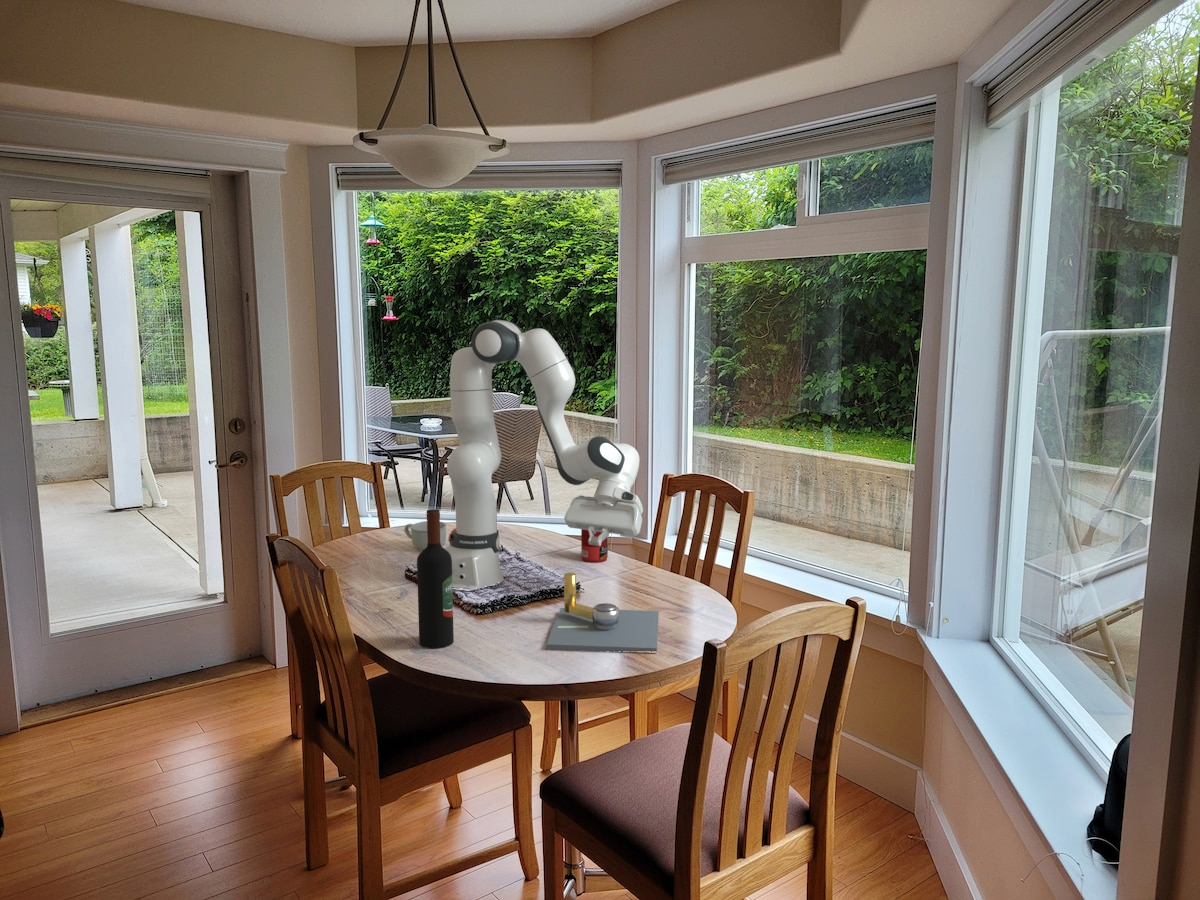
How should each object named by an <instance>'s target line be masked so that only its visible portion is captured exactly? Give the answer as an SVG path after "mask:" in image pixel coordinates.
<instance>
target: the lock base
mask: <svg viewBox="0 0 1200 900" xmlns="http://www.w3.org/2000/svg"><path fill="white" fill-rule="evenodd" d="M659 616H660V615H659V610H642V609H641V610H638V609H636V610H635V609H634V610H633V609H619V622H618V623H617V624H615V625H611V626H600V625H596V624H594V623H593V620H591V619H588V618H585V617H581V616H578V615H575V614H571V613H567V612H565V611H564V607H561V608H560V609H559V611H558V614H557V616H556V619H555V621H554V624H553V627H552V629H551V632H550V634H549V636H548V639H547V642H546V648H545V649H546V650H550V651H573V652H574V651H577V652H578V651H580V652H600V651H603V652H602V653H605V652H606V651H609V652H608V653H619V652H618V651H621V652H620V653H624V652H623V651H630V652H631V651H651V652H652V651H657V650H658V636H657V634H658V632H659ZM614 651H615V652H614ZM657 652H658V651H657ZM606 653H607V652H606Z"/></svg>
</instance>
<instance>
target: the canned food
mask: <svg viewBox="0 0 1200 900" xmlns="http://www.w3.org/2000/svg"><path fill="white" fill-rule="evenodd" d="M580 530H581V531H580V532H581V539H580V540H581V541H580V542H581V546H580V547H581V551H580V552H581V553H580V554H581V559H582V561H583V562H585V563H592V564H597V563H598V564H599V563H604V562H606V561H607V560H608V556H609V555H608V554H609V552H608V551H609V548H608V547H609V546H608V545H609V541H608V539H609V538H608V537H609V536H608V537H607V538H606V539H605V540H603V541H602V543H601V546H596V545H590V544H589V543H588V540H589V538H590V535H589V530H584V529H580ZM601 534H602V532H598V531H596V534H593V535H594V536H595V537H599V536H600V535H601Z"/></svg>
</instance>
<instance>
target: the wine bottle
mask: <svg viewBox="0 0 1200 900" xmlns="http://www.w3.org/2000/svg"><path fill="white" fill-rule="evenodd" d="M440 519H441V513H440V509H435V508H433V509H428V510H426V521H427V539H428V543H427V547H426V548H425V549H424V550H423V551H420V553H419V554H418V555H417V558H416V570H417V571H416V573H417V574H416V575H417V576H416V578H417V580H416V581H417V605H418V606H417V609H418V639H419V641H418V644H419V646H420V647H421V648H422V647H423V648H424V649H433V650H434V649H442V648H447V647H449V646H451V645H452V644H453V643H454V640H455V639H454V638H455V637H454V602H453V601H454V593H453V591H454V590H453V589H452V558H451V555H450V554H449V552H448V551H447V550H445V548H444V547H443V546H441V543H440V522H441V520H440Z"/></svg>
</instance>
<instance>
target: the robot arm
mask: <svg viewBox="0 0 1200 900" xmlns="http://www.w3.org/2000/svg"><path fill="white" fill-rule="evenodd" d="M470 343H471V344H470V345H471V346H466V347H462V348H460V349H458V350H456V351H455V352H454V353H453V355H452V357H451V362H450V371H449V391H450V404H451V405H450V406H451V407H450V408H451V420H452V423H453V424H454V428H455V430H456V434H457V439H458V444H459V446H458V447H456V448H455V449H454V450H453V451H452V453H450V456H449V457H448V460H447V463H446V471H447V474H448V477H449V478H450V482H451V487H452V489H451V490H452V494H453V497H454V504H455V528H453V529H452V530H451V531H450V533H449V534H448V535H449V536H448V537H447V538H448V542H449V545H447V546H445V548H444V549H445V550H447V551H448V552H449V554H450V555H451V558H452V587H454V588H463V589H476V588H478V587H485V586H490V585H493V584H496V583H498V582H501V581H502V580H503V578H504V575H503V572H502V568H501V564H500V556H499V550H500V534H499V529H498V517H497V516H498V515H497V514H498V512H497V511H498V510H497V509H498V507H497V500H496V497H495V494H494V489H493V483H492V482H493V481H492V476H493V474H494V473H495V472H497V470H498V469H499V467H500V465H501V461H502V450H501V447H500V443H499V437H498V432H497V427H496V423H495V416H494V415H495V414H494V403H493V401H494V399H493V384H492V382H493V381H492V372H493V369H494V367H495V366H496V365H497V366H498V365H501V364H503V363H507V362H509V361H516V362H518V363H519V364H520V365H521V366H522V367H523V370H524V371H525V373H526V375H527V377H528V378H529V379H528V380H530V382H531V384H532V387H533V389H534V393H535V395H536V408H537V411H538V415H539V418H540V421H541V423H542V426H543V428H544V431H545V433H546V435H547V439H548V441H549V443H550V447H551V448H552V451H553V453H554V457H555V458H554V459H555V462H556V463H555V464H556V467H557V471H558V473H559V475H560V477H561V478H562V479H563V480H564V481H565V482H566V483H568V484H570V485H572V486H580V485H582V484H584V483H586V482H588V481H590V480H591V479H593V478H597V479H598V484H597V486H596V490H595V492H594V495H593V496H584V495H579V496H576V497H574V498H573V499H572V500H571V502H570V506H569V507H568V510H567V511H566V513H565V515H564V521H565V524H566V525H567V527H568V528H572V529H578V530H581V529H584V530H589V535H590V538H589V540H588V543H589V544H590V545H596V546H601V543H602V541H603V540H605V539H606V538H607V537H609V536H610V534H615V535H620V536H621V535H622V536H629V537H636V536H637V535H639V534H640V531H641V528H642V524H643V516H642V514H643V512H644V508H643V504H642V501H641V500H640V498H639V496H638V495H637V494H635V493H632V492H631V489H632V486H633V485H634V484H635V482H636V478H637V476H638V473H639V468H640V461H641V460H640V454H639V453H638V450H637V449H636V448H635V447H634V446H632V445H630V444H628V443H623V442H622V443H621V442H620V443H615V442H612V441H611V440H610V439H608V438H606V437H604V436H599V435H598V436H594V437H592V438H589V439H586V440H585V441H583V442H581V443H578V444H576V443H575V441H574V439H573V438H572V437H573V436H572V435H571V431H570V429H569V428H568V427H569V426H568V424H567V422H566V419H565V407H566V404H567V402H568V400H569V399H570V397H571V395H572V394H573V392H574V388H575V385H576V375H575V373H574V369H573V368H572V366H571V364H570V362H569V360H568V359H567V357H566V355H565V353H564V351H563V350H562V349H561V347H560V345H559V344H558V342H557V341H556V340H555V338H554V337H553V336H552V335H551V333H550V332H549V331H547V329H544V328H539V327H538V328H532V329H530V330H528V331H525V332H523V330H522V329H521V327H520V326H519V325H518V324H516V323H514V322H512V321H509V320H504V319H503V320H502V319H496V320H492V321H487V322H484V323H481V324H480V325H479V326H477V327H476V329H475V330H474V331H473V333H472V336H471V342H470ZM596 531H598V532H602V534H601V535H600V536H599V537H595V536H594V535H593V534H596Z"/></svg>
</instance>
